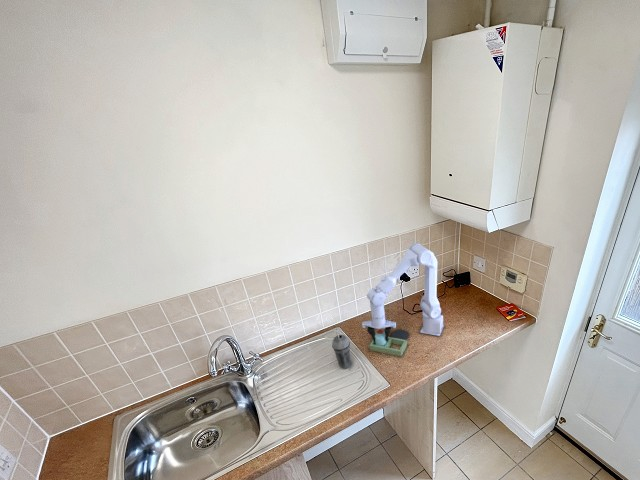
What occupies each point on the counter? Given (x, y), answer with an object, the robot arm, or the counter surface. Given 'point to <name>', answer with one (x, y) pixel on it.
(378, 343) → the bottle
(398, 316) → the counter surface
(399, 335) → the coaster
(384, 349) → the bottle rack
